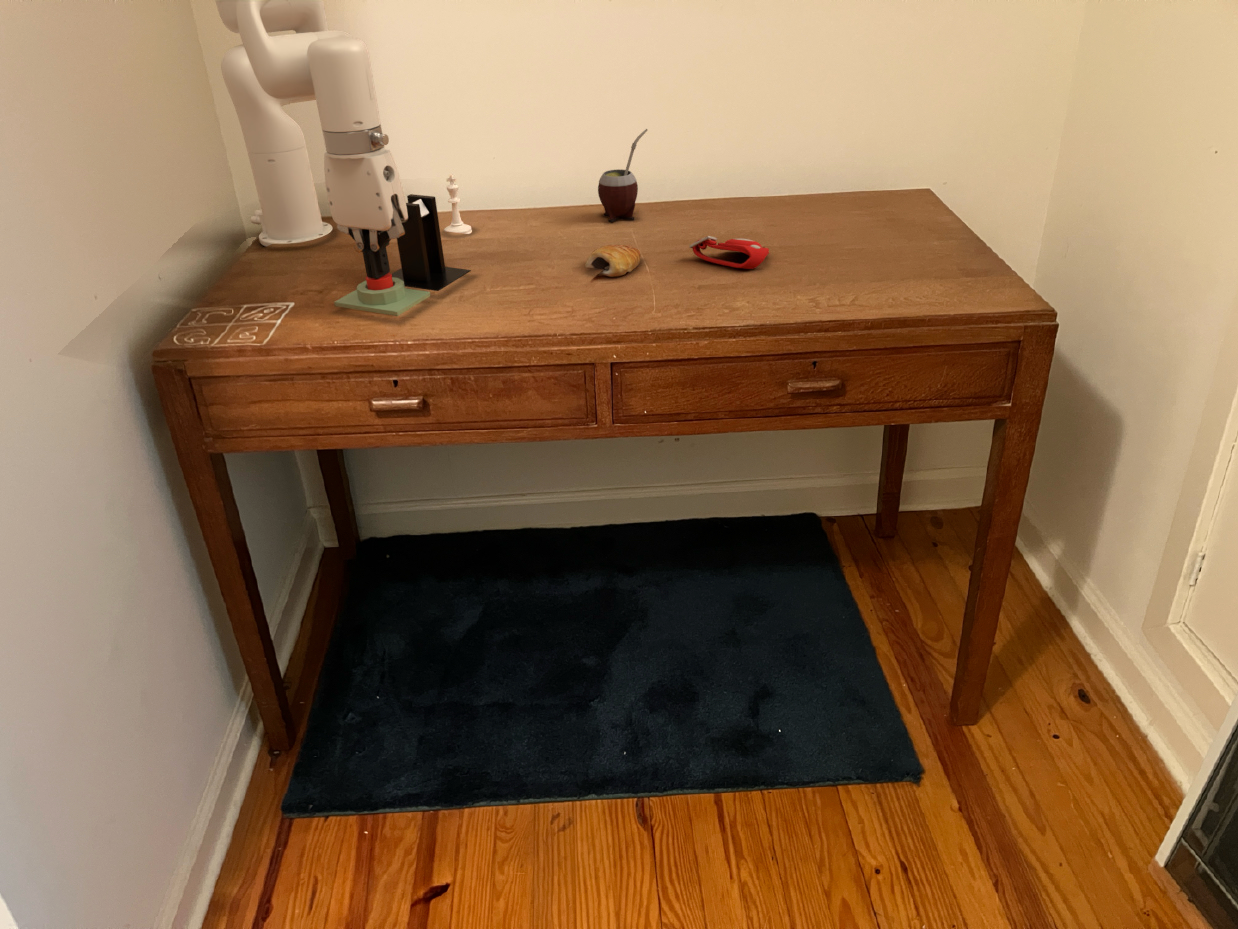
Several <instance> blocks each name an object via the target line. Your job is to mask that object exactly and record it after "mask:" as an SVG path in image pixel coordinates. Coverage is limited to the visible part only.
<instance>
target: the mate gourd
mask: <svg viewBox="0 0 1238 929" xmlns="http://www.w3.org/2000/svg"><path fill="white" fill-rule="evenodd" d="M647 132H648V128H645V129H644V130H643V131H642V132H641V133H640V134H639V135H637V137H636V138H635V139H634V141H633V142H632V144H631V147H630V153H629V156H628V160H627V164H626V167H625V169H619V168H618V169H610V170H606V171H604V172H602V175H601V176H600V178H599V180H598V186H597V193H598V198H599V201H600V203H601V205H602V206H603V209H604V213H603V217H606V218H609V219H607V221H608V224H613V223H614V222H617V221H619V220H626V221H630V222H631V221H634V220H635V216H634V212H635V207H636V201H637V198H638V192H639V186H638V182H637V181H638V180H637V178H636V176H635V175H634V173H633V172H632V171H631V170H630V167H631V162H632V159H633V155H634V152H635V150H636V148H637V144H638V142H639V141H640V140H641V138H642V137H643V136H644V135H645V134H646V133H647Z"/></svg>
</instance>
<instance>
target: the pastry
mask: <svg viewBox="0 0 1238 929" xmlns="http://www.w3.org/2000/svg"><path fill="white" fill-rule="evenodd" d="M640 263H641V251H640V249H638V248H635V247H632V246H631V245H628V244H622V245H621V244H613V245H612V244H607V245H602V246H601V247H600V248H597V249H594V250H593V251H592V253H590V256H589V257H588V258H587V261H586V262H585V265H584V266H585V268H589V269H595V270H596V269H597V270H601V271H600V272H598V273H597V274H596V276H606V277H609V278H610V277H617V278H619V277H621V276H624V275H626V273H627V272H629V273H631V272H632V271H633V270H635V269H636V268H637V267H638V266H639V264H640Z"/></svg>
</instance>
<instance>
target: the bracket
mask: <svg viewBox="0 0 1238 929" xmlns="http://www.w3.org/2000/svg"><path fill="white" fill-rule="evenodd" d="M406 198H407V202H406V207H407V213H408V219H407V221H405V222H403V223H402V225H403V228H404V231H405V234H404V235H403V236H401V237H399V238H396V242H397V248H398V255H399V260H400V266H401V268H399V269H397V270H396V271H393V272H392V273H391V275H392V277H395V278H399V279H401V280H402V281H404V286H405V287H406V288H413V289H414V288H416V289H422V290H427V291H428V290H429V291H435V292H439V291H441V290H442V289H444V288H445V287H447V286H449V285H450V284H452V283H454V282H455V281H457V280H458V279H460V278H462V277H464V276H465V275H467V274H468V273H471V272H472V270H471V269H466V268H458V267H450V266H446V263H445V257H444V256H445V255H444V249H443V242H442V234H441V228H440V221H439V214H438V206H437V200H436V196H433V195H424V194H423V195H422V194H413V193H411V194H409V195H406ZM419 199H421V200H422V202H423V203H424V205H425V207H426V208H427V210H428V211H429V214H428V215H426V216H425V217H423V218H421V211H420V205H419V204H413V202H415V201H417V200H419Z"/></svg>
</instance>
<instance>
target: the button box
mask: <svg viewBox="0 0 1238 929" xmlns="http://www.w3.org/2000/svg"><path fill="white" fill-rule="evenodd" d="M392 281H393V287H391V288H388V289H384V290H368V287H367V282H366V280H364V281H362V282H360V283H358V284H357V286H356V289H355V290H353V291H350V292H349V293H348V294H346V295H344V296H342V297H340V298H339V299H336V300H335V301H334V302H333V303H334V306H335V307H338V308H343V309H352V310H357V311H363V312H364V311H365V312H370V313H376V314H381V315H387V316H394V317H399V316H400V315H402V314H404V313H406V312H407V311H408V310H410V309H413V307H415V306H417V305H418V304H420V303H421V302H423V301H425V300H426V299H428V298H430V297H431V291H428V290H427V291H426V290H420V289H414V288H408V287H406V286H404V281H402V280H401V279H399V278H395V277H392Z"/></svg>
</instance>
